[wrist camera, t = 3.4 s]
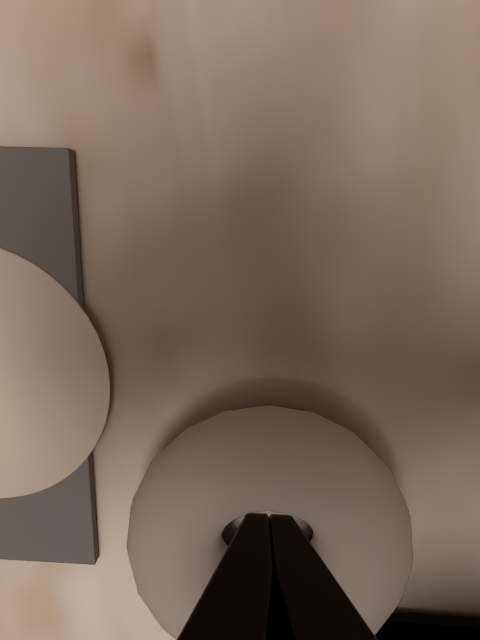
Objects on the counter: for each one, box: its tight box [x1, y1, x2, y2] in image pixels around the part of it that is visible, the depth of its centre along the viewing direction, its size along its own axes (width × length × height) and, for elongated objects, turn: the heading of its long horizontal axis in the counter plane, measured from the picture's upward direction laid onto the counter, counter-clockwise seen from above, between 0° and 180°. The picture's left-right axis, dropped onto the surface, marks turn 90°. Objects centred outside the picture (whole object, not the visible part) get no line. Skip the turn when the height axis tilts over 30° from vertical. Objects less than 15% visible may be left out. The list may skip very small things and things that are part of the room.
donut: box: [127, 405, 413, 640], centre depth 13 cm, size 10×3×10 cm
